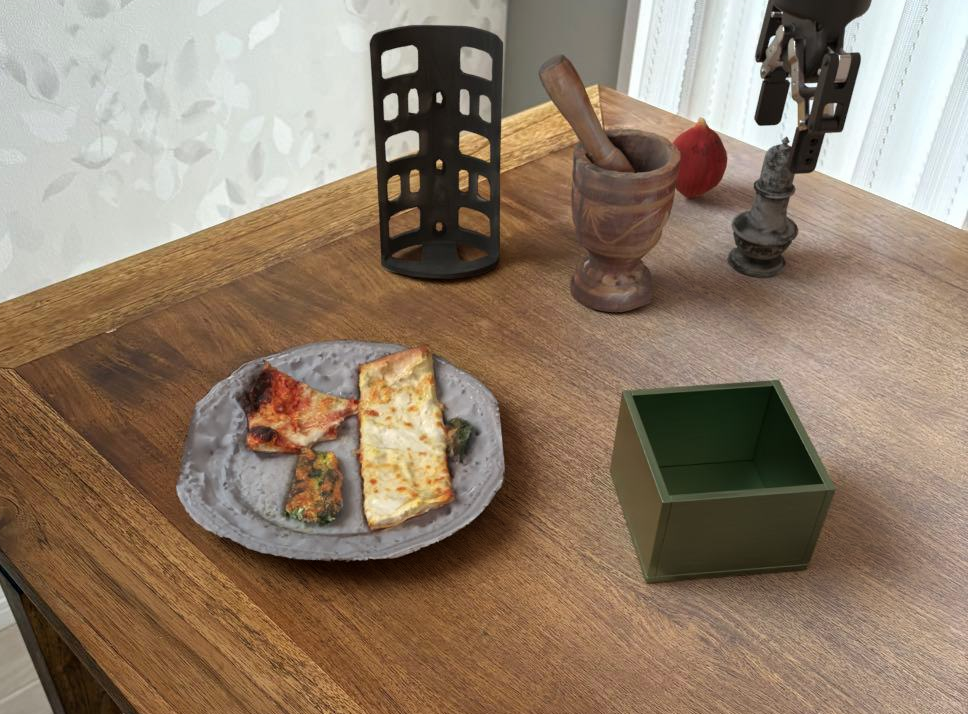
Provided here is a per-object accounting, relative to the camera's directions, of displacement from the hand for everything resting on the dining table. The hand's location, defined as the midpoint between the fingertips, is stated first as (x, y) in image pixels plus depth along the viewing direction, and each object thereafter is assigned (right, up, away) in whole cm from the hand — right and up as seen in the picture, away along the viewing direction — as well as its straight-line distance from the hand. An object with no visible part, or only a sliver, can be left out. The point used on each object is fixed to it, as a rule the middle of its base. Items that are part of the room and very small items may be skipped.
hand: (782, 146), depth 94 cm
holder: (-29, -7, +9) cm, 31 cm away
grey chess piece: (0, -8, +8) cm, 11 cm away
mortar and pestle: (-15, -11, +5) cm, 20 cm away
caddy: (-10, -32, -15) cm, 37 cm away
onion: (-4, +1, +16) cm, 17 cm away
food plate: (-36, -27, -10) cm, 47 cm away
